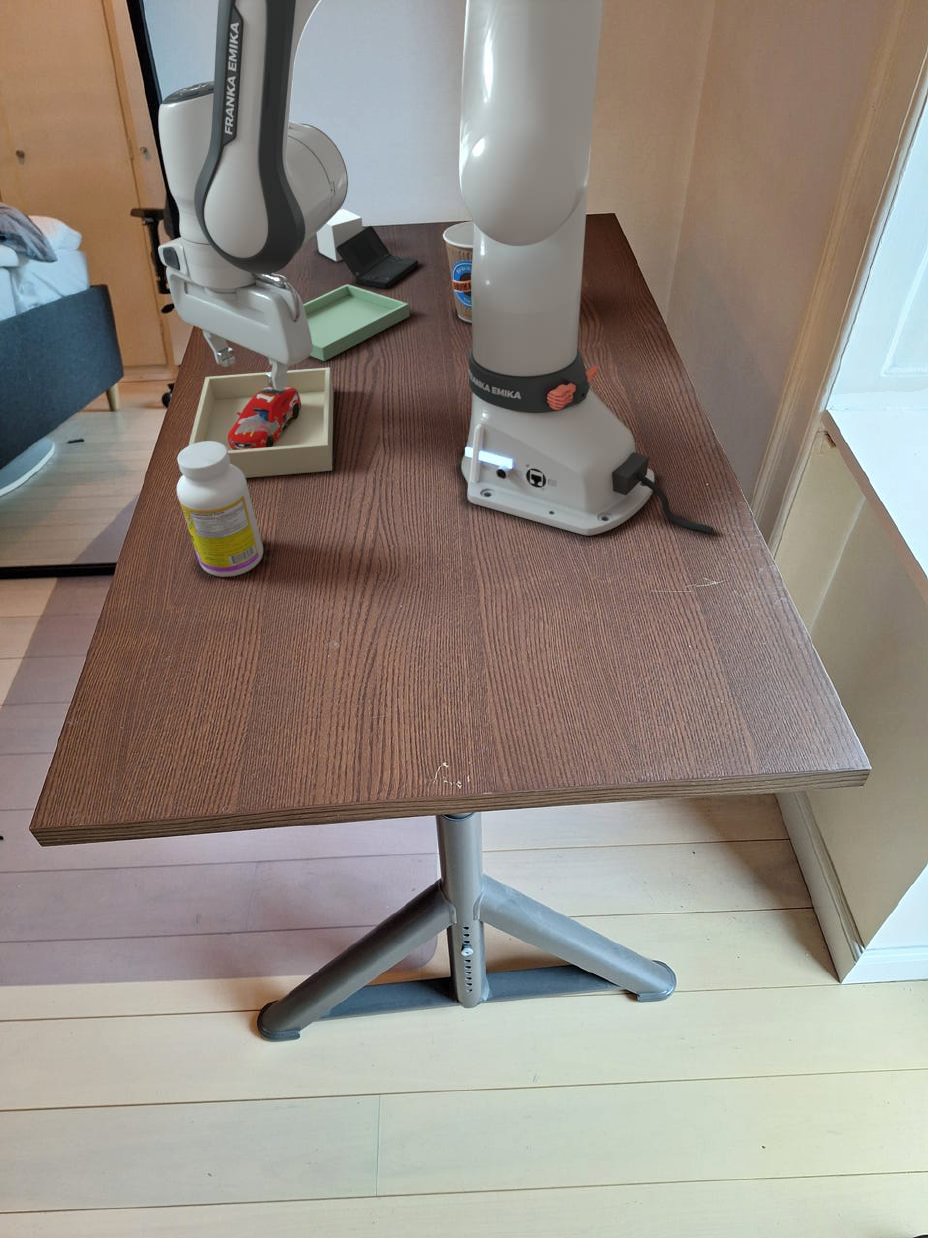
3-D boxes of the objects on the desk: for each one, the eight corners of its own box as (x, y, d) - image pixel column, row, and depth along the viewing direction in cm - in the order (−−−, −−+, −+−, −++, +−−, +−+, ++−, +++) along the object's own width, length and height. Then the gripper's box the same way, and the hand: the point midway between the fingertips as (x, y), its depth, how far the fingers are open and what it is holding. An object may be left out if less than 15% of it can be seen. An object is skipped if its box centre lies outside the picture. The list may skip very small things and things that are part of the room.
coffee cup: (437, 324, 128) (432, 242, 120) (459, 297, 135) (456, 217, 127) (502, 332, 126) (502, 248, 117) (521, 303, 133) (523, 223, 124)
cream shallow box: (211, 400, 113) (205, 376, 111) (333, 391, 114) (329, 367, 112) (193, 482, 99) (185, 456, 97) (332, 470, 100) (327, 444, 98)
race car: (263, 461, 101) (256, 432, 98) (223, 455, 102) (215, 426, 100) (309, 406, 110) (304, 378, 107) (271, 401, 111) (265, 373, 109)
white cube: (347, 243, 154) (343, 208, 150) (365, 253, 150) (361, 217, 146) (318, 252, 151) (313, 216, 147) (336, 261, 148) (331, 225, 144)
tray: (409, 316, 131) (408, 303, 129) (324, 361, 121) (322, 347, 119) (348, 296, 137) (347, 283, 135) (262, 337, 127) (260, 324, 125)
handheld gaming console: (398, 279, 137) (360, 223, 134) (367, 303, 141) (329, 249, 138) (423, 263, 146) (388, 210, 143) (393, 286, 150) (358, 235, 147)
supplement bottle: (212, 538, 91) (181, 433, 83) (272, 540, 91) (247, 435, 82) (190, 578, 87) (155, 472, 78) (253, 581, 86) (225, 474, 77)
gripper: (316, 271, 89) (332, 391, 98) (193, 229, 98) (218, 342, 108) (270, 290, 85) (291, 413, 95) (148, 245, 95) (178, 360, 104)
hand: (251, 375), depth 101 cm, fingers open, 8 cm apart
